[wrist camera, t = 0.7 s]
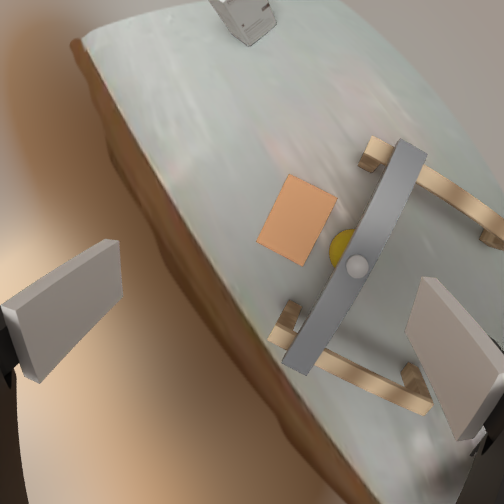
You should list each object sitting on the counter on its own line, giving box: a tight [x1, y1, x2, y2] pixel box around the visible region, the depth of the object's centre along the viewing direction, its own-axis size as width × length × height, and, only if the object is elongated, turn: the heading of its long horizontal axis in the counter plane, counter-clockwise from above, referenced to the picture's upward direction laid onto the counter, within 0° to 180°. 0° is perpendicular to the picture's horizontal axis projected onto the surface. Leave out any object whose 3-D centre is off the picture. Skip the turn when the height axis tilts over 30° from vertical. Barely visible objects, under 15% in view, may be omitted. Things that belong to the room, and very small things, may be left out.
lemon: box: [329, 229, 355, 268], centre depth 36 cm, size 6×6×8 cm
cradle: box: [267, 136, 504, 416], centre depth 34 cm, size 22×24×10 cm
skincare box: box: [209, 0, 277, 46], centre depth 33 cm, size 6×4×12 cm
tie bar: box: [281, 138, 428, 376], centre depth 29 cm, size 3×25×3 cm, turn 154°
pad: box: [256, 174, 337, 267], centre depth 41 cm, size 7×10×1 cm
